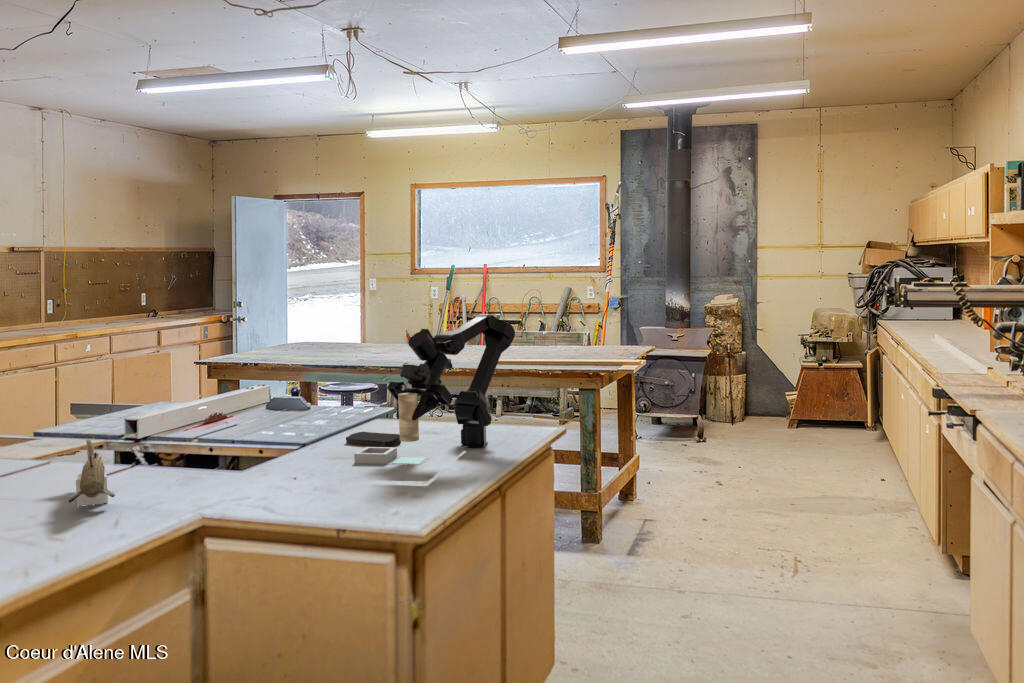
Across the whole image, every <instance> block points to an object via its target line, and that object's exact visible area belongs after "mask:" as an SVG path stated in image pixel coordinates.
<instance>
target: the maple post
mask: <svg viewBox="0 0 1024 683" xmlns="http://www.w3.org/2000/svg"><path fill="white" fill-rule="evenodd" d="M418 398H419V396H418V394H417V393H401V394H398V400H397V405H398V404H399V419H398V427H399V429H398V430H399V435H400V441H401V443H402V442H405V443H410V442H411V443H413V442H418V441H419V440H420V430H419V428H420V427H419V424H420V421H419V418H418V419H416V420H415V421H413V420H412V416H413V413H414V411H415V409H416V407H417V405H418V403H419V399H418Z"/></svg>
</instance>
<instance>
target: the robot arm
mask: <svg viewBox="0 0 1024 683" xmlns="http://www.w3.org/2000/svg"><path fill="white" fill-rule="evenodd" d="M478 335H483V336H484V337H483V340H484V345H485V348H484V350H483V354H482V356H481V358H480V360H479V364H478V365H477V368H476V370H475V373H474V376H473V378H472V380H471V384H470V386H469V388H468V389H467V390H466V391H465V390H461V391H459V393H458V396H457V399H456V401H455V402H454V403H455V405H454V409H453V410H454V413H455V414H454V415H455V417H456V422H457V424H458V425H462V429H461V430H460V445H461V447H467V448H484V447H485V446H487V445H488V443H489V441H487V427H488V426H490V425H491V423H492V419H493V418H492V415H491V414H490V413H489V411H488V410H487V406H488V403H487V400H486V399H487V398H486V394H487V391H488V389H489V386H490V383H491V381H492V378H493V377H494V374H495V371H496V368H497V366H498V363H499V361H500V358H501V355H502V353H504V352H505V351H506V350H507V349H509V348H510V347H511V344H512V342H513V341H514V340H515V336H516V330H515V328H514V327H513V325H512V324H511V323H508V322H506V321H505V320H504V321H503V320H502V319H499V318H498V317H495V315H492V314H490V313H488V314H487V313H479V314H478V315H476V316H475V317H473V318H472V319H470V320H469V321H467V322H466V323H464V324H462V325H461V326H459V327H457V328H455V329H453V330H448V331H444V332H440V333H437V334H435V335H434V336H433V335H432V333H431V331H430V330H429V328H421V329H420V331H418V332H416V333H414V334H413V335H412V336H410V338H409V340H408V341H407V342H408V347H410V349H411V350H412V351H413V353H414V354H415V355H416V356H417V358H418V359H419V360H420V361H422V362H423V361H424V363H420V364H419V365H418V364H417V365H416V364H405V363H404V364H402V367H401V371H400V374H399V376H400V377H401V378H405V379H406V380H407V383H408V385H411V386H407V385H406V384H405V383H404V381H399V380H398V381H395V380H393V381H390V382H389V383H388V385H387V386H386V389H387V390H388V391H389V392H390V394H391V395H392V396H393V398H394V399H395V400H396V401H398V394H401V393H417V394H418V397H420V399H419V400H418V405H417V407H416V409H415V411H414V413H413V416H412V420H413V421H415V420H416V419H418V420H419V418H421V417H422V416H425V415H426V414H427V413H429V412H430V411H432V410H434V409H436V408H439V407H440V405H442V406H450V405H451V404H452V401H453V394H452V393H451V392H450V391H449V389H448V388H447V386H446V385H445V384H442V383H443V382H442V380H441V377H442V376H443V374H444V372H445V370H447V369H449V370H453V368H454V367H453V363H452V360H451V358H448V357H447V355H449V356H456V355H459V353H461V352H462V351H463V350H464V349H465V346H466V343H467V342H469V341H471V340H473V339H475V337H478ZM396 408H397V409H396V414H395V415H396V416H395V417H396V419H398V420H399V404H398V403H397V407H396Z"/></svg>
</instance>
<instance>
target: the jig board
mask: <svg viewBox="0 0 1024 683" xmlns="http://www.w3.org/2000/svg"><path fill="white" fill-rule="evenodd" d="M353 458H354V463H353V464H354V465H391V466H393V465H395V466H422V465H423V464H425V463H426V462H427V461H428V460H430V459H431V456H398V447H395V446H393V447H371V446H364V448H362V449H360V450H357V452H356V451H355V453H354V454H353Z"/></svg>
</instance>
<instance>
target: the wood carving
mask: <svg viewBox="0 0 1024 683" xmlns="http://www.w3.org/2000/svg"><path fill="white" fill-rule="evenodd" d="M85 440H86V441H85V442H86V450H87V451H86V452H87V461H86V462H85V463H84V464H83V466H82V469H81V470H82V471H81V473H80V474H75V489H76V494H75V495H73V496H72V497H71V498H69V499H68V502H69V503H72V502H74V501H75V500H76V506H83V505H93V504H101V505H104V504H103V503H108V504H109V498H108V497H111V498H115V496H116V494H115V493H114V492H113V491H110V490H108V479H107V478H108V476H107V471H105V469H106V467H105V464H104V462H103V460H102V459H103V458H102V456H99V453H98V452H95V447H94V444H93V442H92V439H90V438H86V439H85ZM93 506H94V505H93Z"/></svg>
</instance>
